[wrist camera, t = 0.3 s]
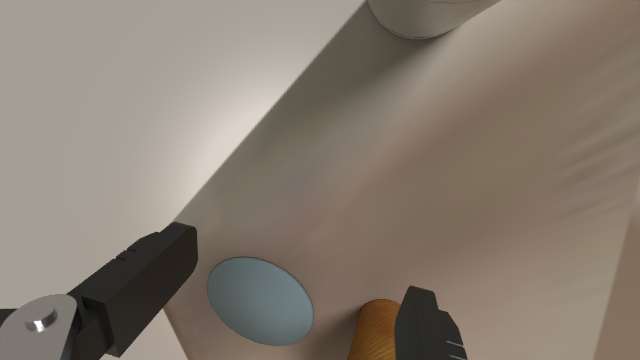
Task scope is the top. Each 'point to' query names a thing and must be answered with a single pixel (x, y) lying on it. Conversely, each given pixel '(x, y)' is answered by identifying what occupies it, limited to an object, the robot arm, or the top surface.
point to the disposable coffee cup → (375, 332)
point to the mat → (260, 301)
